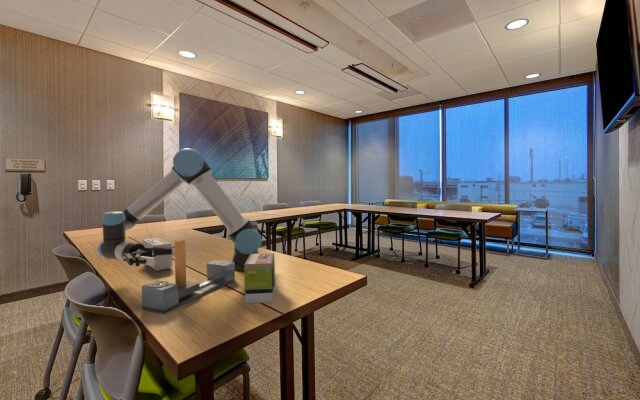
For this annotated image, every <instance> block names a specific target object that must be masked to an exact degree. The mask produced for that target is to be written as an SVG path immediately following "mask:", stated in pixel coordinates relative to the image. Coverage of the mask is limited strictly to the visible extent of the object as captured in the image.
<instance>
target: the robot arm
mask: <svg viewBox="0 0 640 400" xmlns="http://www.w3.org/2000/svg"><path fill="white" fill-rule="evenodd" d="M172 165H173V166H172V167H171V170H170V172H169V173H167V174H166V175H165V176H164V177H162V178H161V179H160V180H159V181H157V183H155V184H154V185H153V186H151V187H150V188H149V189H148V190H147V191H146V192H144V193H143V194H142V195H140V196H139V197H138V198H137V199H135V201H134V202H132V203H131V204H130V205H129V206H127V208H125V209H124V210H123V211H119V210H118V211H106V212H104V213H102V217H101V218H102V220H101V224H102V239H103V241H101V242H100V244H99V246H98V247H97V253H98V255H99V256H100V257H102V258H103V259H107V260H116V261H117V260H118V261H123V262H125V263H127V264H128V265H129V266H133V265H134V264H135V267H140V265H142V266H143V265H145V266H149V265H150V266H155V258H152V257H155V256H157V255H171V254H172V256H174V257H175V252H174V245H172V247H153V248H145V244H142V243H141V242H140V243H139V242H131V241H126V231H128V230H131V229H132V228H134V227H135V226H136V224H137V223H139V222H140V221H141V220H142V219H143V218H144V217H145V216H146V215H147V214H149V213H150V212H151V211H152V210H154V209H155V208H156V207H157V206H158V205H159V204H161V203H162V202H164V200H166V199H167V198H168V197H169V196H170V195H171V194H173V193H174V192H175V191H177V190H178V188H180V187H181V186H182V185H183V184H188V186H193V187H195V189H196V190H197V192H198V193H199V194H200V196H202V198H203V200H204V201H205V202H206V204H207V205H208V206H209V207H210V209H211V210H212V211H213V212H214V214H215V215H216V216H217V218H218V219H219V221H221V222H222V224H223V225H224V227H225V228H226V230H227V233H226V235H227V236H228V238H229V239H230V240H231V242H232V243H233V244H234V245H233V246H234V252H233V255H232V259H231V262H235V271H244V264H245V263H246V261H247V259H248V257H249V256H250V254H260V253H259V249H260V247H261V245H262V236H261V234H260V232H259V231H258V229H259V226H258V225H259V224H258V222H257V221H250V219H248V218H244V216H243V215H242V214H241V213H240V212H239V210H238V209H237V207H236V205H234V204H233V202H232V201H231V200H230V198H229V196H227V193H226V192H225V191H224V190H223V188H222V187H221V186H220V184H219V183H218V181H216V179H215V177H213V175H212V172H213V170H212V168H211V167H210V165H209V164H208V162H207V161H206V160H205V158H204V156H203V155H202V154H201V153H200V152H199V151H198V150H196V149H194V148H189V147H188V148H187V147H186V148H182V149H180V150H178V151H177V152H176V153H175V155H174V156H173V158H172ZM186 250H187V249H185V257H186V256H187V255H186V252H187V251H186ZM152 252H153V253H154V255H152ZM150 266H149V267H150Z"/></svg>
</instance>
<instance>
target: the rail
mask: <svg viewBox="0 0 640 400" xmlns="http://www.w3.org/2000/svg"><path fill="white" fill-rule="evenodd" d="M235 272H236V270H235V262H232V261H228V260H227V261H226V260H219V259H215V260H212V261H210V262H207V263H206V278H205V279H203V280H201V281H198V282H197V283H200V289H199V290H197V291H195V292H193V293H190V294H188V295H186V296H184V297H181V298H178V284H175V283H172V282H169V281H168V280H156V281H152V282H149V283H147V284H144V285H142V286H141V302H142V307H141V308H142V310H145V311H148V312H149V311H150V312H153V313H158V314H162V315H165V314H167V313H169V312H171V311H174V310H175V309H178V308H179V307H180V308H181V307H182V306H185V305H186V304H188V303H190V302H192V301H194V300H196V299H199V298H200V297H203V296H205V295H208V294H209V293H212V292H213V291H215V290H217V289H220V288H221V287H223V286H225V285H227V284H229V283H232V282H234V281H235V280H236V275H235V274H236V273H235Z"/></svg>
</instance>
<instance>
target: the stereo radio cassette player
mask: <svg viewBox="0 0 640 400" xmlns="http://www.w3.org/2000/svg"><path fill="white" fill-rule="evenodd" d="M145 228H146V231H147V233H148V235H149V238H146V239H145V238H144V239H142V243H143V245H144V246H145V248H153V247H173V245H172V243H171V242H168V241H166V240H164V239H162V238H159V237H152V236H151V235H152V234H150V232H149V229H148V228H147V227H145ZM152 255H154V253H153V252H152ZM152 258H155V266H150V265H148V267H150V268H152V269H153V270H154V271H156V272H159V271H164V270H170V269H171V268H172V267H173V255H172V254H171V255H157V256H155V257H152Z"/></svg>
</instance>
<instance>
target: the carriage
mask: <svg viewBox="0 0 640 400" xmlns="http://www.w3.org/2000/svg"><path fill="white" fill-rule="evenodd" d="M173 246H174V252H175V256H174V276H175V277H174V278H175V279H174V280H175V281H174V284H178V298H181V297H184V296H186V295H188V294H190V293H193V292H195V291H197V290H199V289H200V283H198V282H196V281H195V282H194V281H188V280H187V267H186V266H187V264H186V263H187V262H186V261H187V259H186V256H185V250H186V239H176V240H174V241H173Z"/></svg>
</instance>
